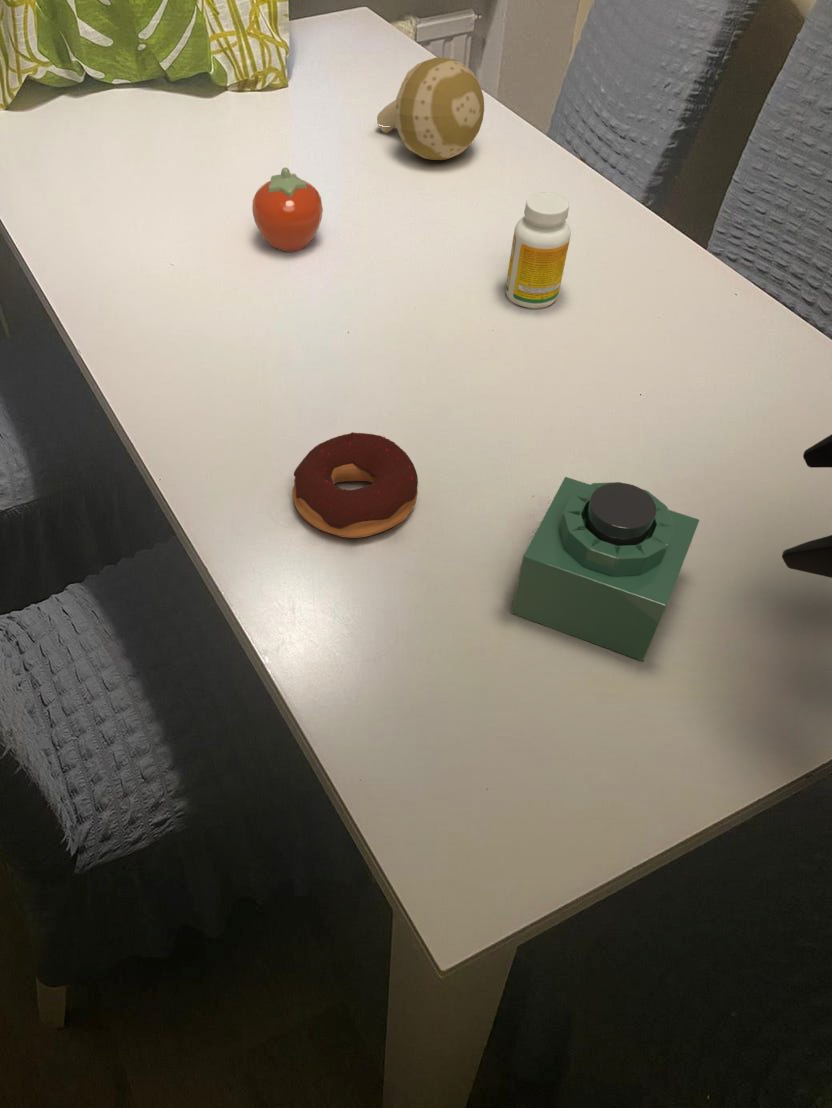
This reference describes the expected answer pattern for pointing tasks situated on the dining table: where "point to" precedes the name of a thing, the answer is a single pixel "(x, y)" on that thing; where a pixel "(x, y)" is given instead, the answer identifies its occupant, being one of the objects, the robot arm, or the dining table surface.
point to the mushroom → (436, 109)
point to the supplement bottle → (539, 251)
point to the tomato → (287, 211)
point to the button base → (601, 574)
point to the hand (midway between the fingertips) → (795, 507)
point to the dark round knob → (620, 514)
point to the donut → (361, 506)
